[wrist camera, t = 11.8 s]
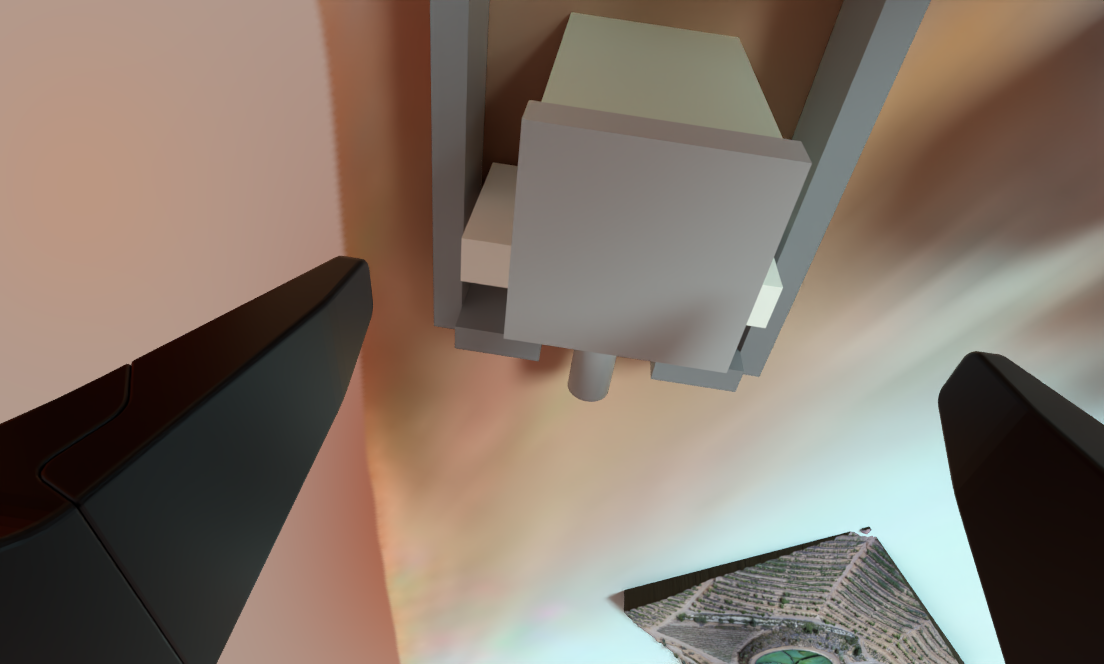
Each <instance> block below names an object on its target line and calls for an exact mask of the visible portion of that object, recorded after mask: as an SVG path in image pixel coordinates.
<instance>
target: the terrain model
mask: <svg viewBox="0 0 1104 664" xmlns="http://www.w3.org/2000/svg"><path fill="white" fill-rule="evenodd" d="M870 531H871V529H870V527H866V528H863V529H861V532H862V533H864V534H868V533H869V532H870ZM624 612H625V614H626V615H627V616H628V617H630V618H631V619H632V620H633V622H634V623H636V624H637V625H638V627H641V628H642V629H643V630H644V631H646V632H647V633H649V634H650V635H651V636H653V637H654V638H655V639H656V641H658V642H659V643H662V644H663V645H664V646H666V647H667V648H669V649H670V650H671V651H673V653H674V656H675V657H676V658H678V656H679V657H680V658H681V659H682V663H683V664H686V663H687V664H964V662H963V661H962V659H961V658H960V657H959V655H958V653H957V652H956V651H955V649H954V648H953V646H952V645H951V643H950V642H949V640H948V639H947V638H946V636H945V635H944V633H943V632H942V631H941V629H940V628H939V626H938V625H937V624H936V622H935V621H934V619H933V618H932V616H931V615H930V613H929V612H928V611H927V609H926V608H925V606H924V605H923V603H922V602H921V600H920V599H919V597H918V596H917V595H916V593H915V592H914V590H913V589H912V588H911V586H910V585H909V583H908V582H907V580H906V579H905V577H904V576H903V575H902V573H901V572H900V570H899V569H898V568H897V566H896V565H895V563H894V562H893V560H892V559H891V557H890V556H889V555H888V553H887V552H886V550H885V549H884V547H883V546H882V544H881V543H880V542H879V540H878V539H877V537H873V536H870V537H866V536H859V535H858V534H857V533H855V532H847V533H844V534H840V535H835V536H832V537H828V538H824V539H820V540H817V541H813V542H810V543H805V544H802V545H797V546H793V547H789V548H785V549H782V550H778V551H774V552H771V553H766V554H762V555H758V556H754V557H751V558H747V559H743V560H740V561H735V562H731V563H728V564H723V565H719V566H716V567H712V568H709V569H705V570H701V571H696V572H693V573H689V574H685V575H681V576H677V577H673V578H669V579H665V580H662V581H658V582H655V583H651V584H646V585H643V586H638V587H635V588H631V589H627V590H625V592H624ZM685 662H686V663H685Z"/></svg>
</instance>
